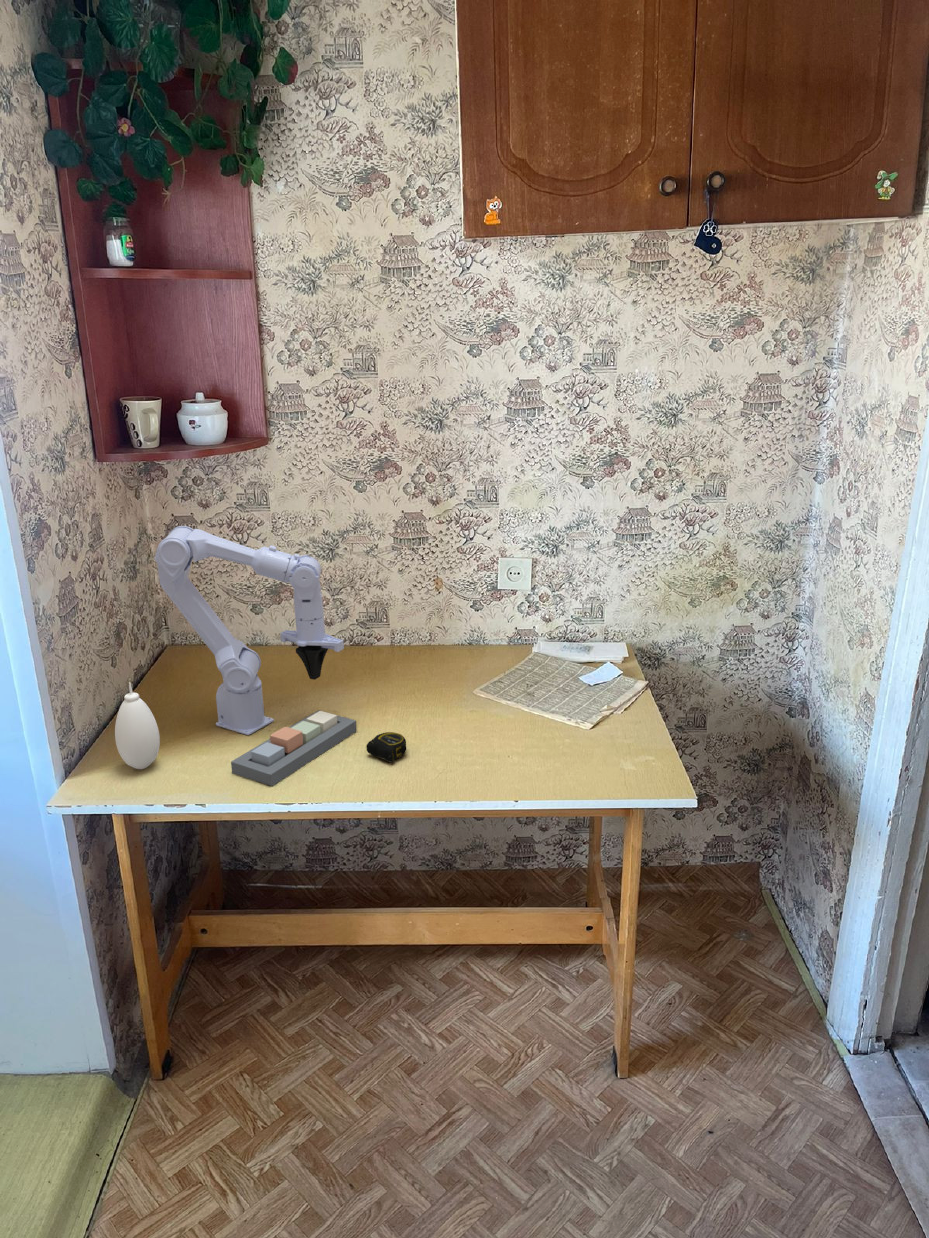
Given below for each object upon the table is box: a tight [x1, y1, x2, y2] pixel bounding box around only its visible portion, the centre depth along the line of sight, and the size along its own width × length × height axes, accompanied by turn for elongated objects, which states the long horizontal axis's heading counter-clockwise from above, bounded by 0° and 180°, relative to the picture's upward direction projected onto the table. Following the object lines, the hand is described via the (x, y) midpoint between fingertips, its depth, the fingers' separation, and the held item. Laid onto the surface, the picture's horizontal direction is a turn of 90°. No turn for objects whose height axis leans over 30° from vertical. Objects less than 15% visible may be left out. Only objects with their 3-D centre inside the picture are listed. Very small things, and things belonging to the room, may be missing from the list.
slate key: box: [251, 742, 285, 767], centre depth 181 cm, size 4×4×3 cm
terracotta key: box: [269, 726, 303, 753], centre depth 185 cm, size 4×4×3 cm
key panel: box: [230, 709, 358, 788], centre depth 188 cm, size 10×26×2 cm, turn 149°
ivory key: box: [306, 710, 337, 734], centre depth 194 cm, size 4×4×3 cm
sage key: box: [292, 721, 321, 746], centre depth 189 cm, size 4×4×3 cm
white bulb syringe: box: [114, 681, 161, 770], centre depth 180 cm, size 8×8×18 cm
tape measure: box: [365, 731, 407, 763], centre depth 186 cm, size 7×7×4 cm
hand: (315, 677), depth 197 cm, fingers closed
